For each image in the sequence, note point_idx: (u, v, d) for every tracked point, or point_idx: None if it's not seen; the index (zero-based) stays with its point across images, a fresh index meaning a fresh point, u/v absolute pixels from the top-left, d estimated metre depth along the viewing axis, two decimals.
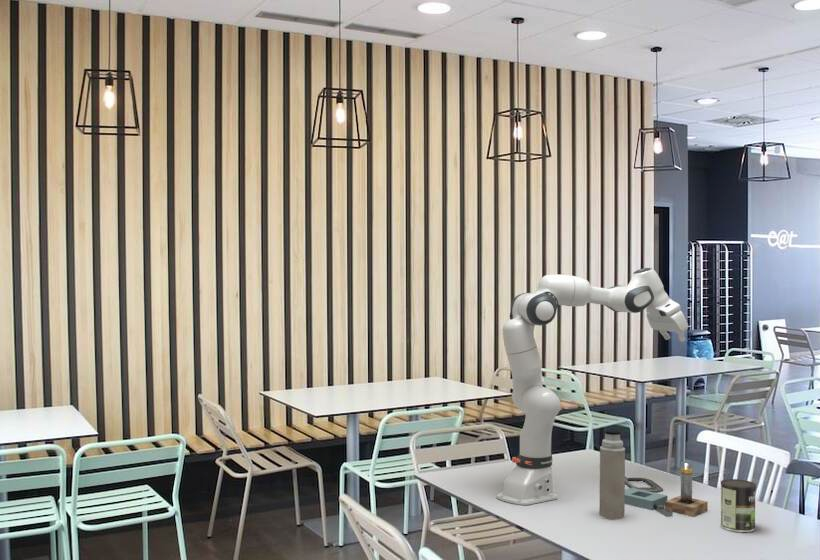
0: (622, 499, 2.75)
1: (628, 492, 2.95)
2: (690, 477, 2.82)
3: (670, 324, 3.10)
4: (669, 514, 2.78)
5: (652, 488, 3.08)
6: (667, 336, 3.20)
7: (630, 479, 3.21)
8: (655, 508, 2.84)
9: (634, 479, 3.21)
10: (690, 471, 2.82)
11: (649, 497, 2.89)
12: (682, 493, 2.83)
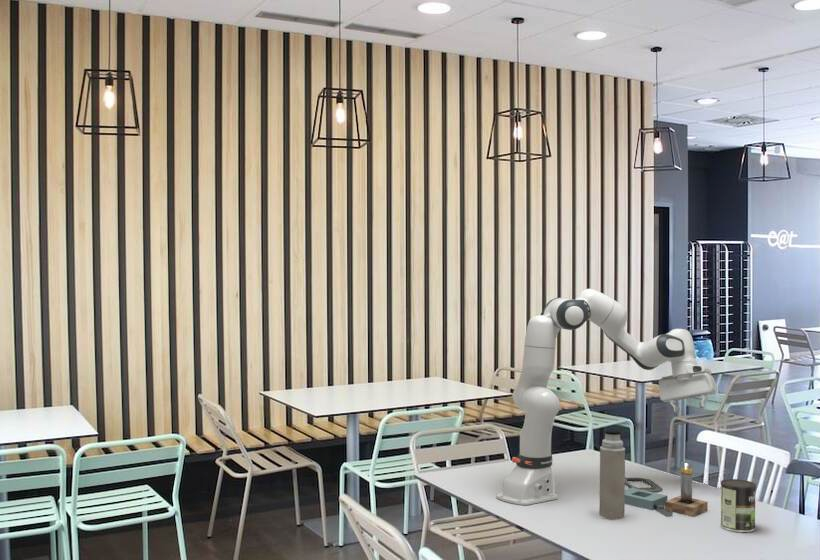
0: (622, 499, 2.75)
1: (628, 492, 2.95)
2: (690, 477, 2.82)
3: (698, 385, 3.03)
4: (669, 514, 2.78)
5: (652, 488, 3.09)
6: (678, 408, 3.06)
7: (629, 479, 3.21)
8: (655, 508, 2.84)
9: (633, 479, 3.21)
10: (690, 471, 2.82)
11: (649, 497, 2.89)
12: (682, 493, 2.83)
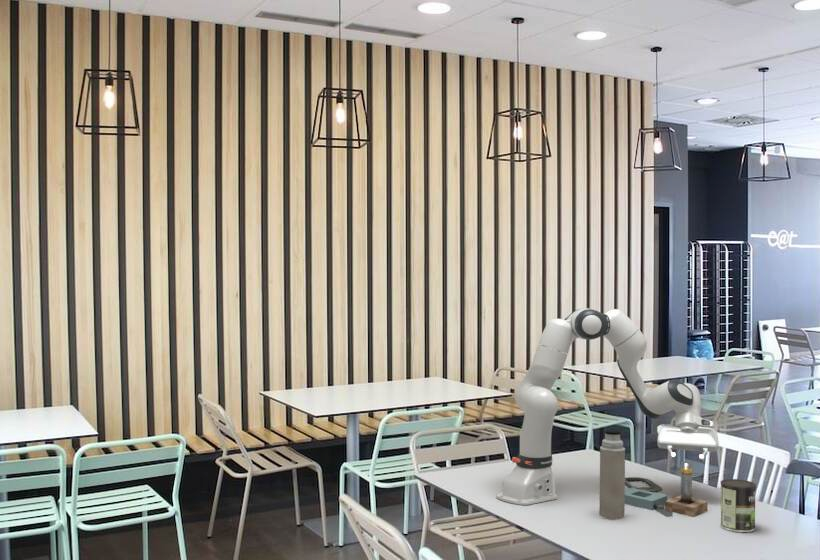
0: (622, 499, 2.75)
1: (628, 492, 2.95)
2: (690, 477, 2.82)
3: (703, 438, 2.93)
4: (669, 514, 2.78)
5: (651, 488, 3.09)
6: None
7: (629, 479, 3.21)
8: (655, 508, 2.84)
9: (633, 479, 3.21)
10: (690, 471, 2.82)
11: (649, 497, 2.89)
12: (682, 493, 2.83)
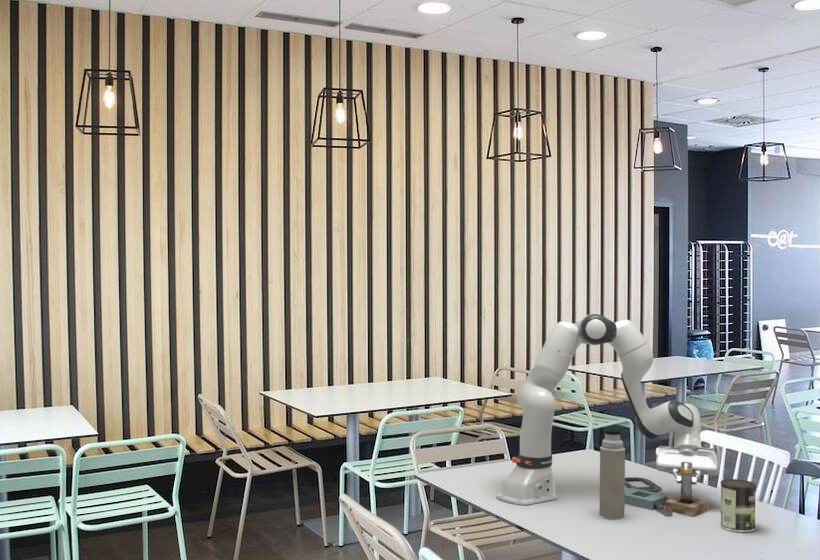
0: (622, 499, 2.75)
1: (628, 492, 2.95)
2: (690, 477, 2.82)
3: (702, 461, 2.86)
4: (669, 514, 2.78)
5: (651, 488, 3.09)
6: (680, 479, 2.85)
7: (628, 479, 3.21)
8: (655, 508, 2.84)
9: (632, 479, 3.21)
10: (690, 471, 2.82)
11: (649, 497, 2.89)
12: (682, 493, 2.83)
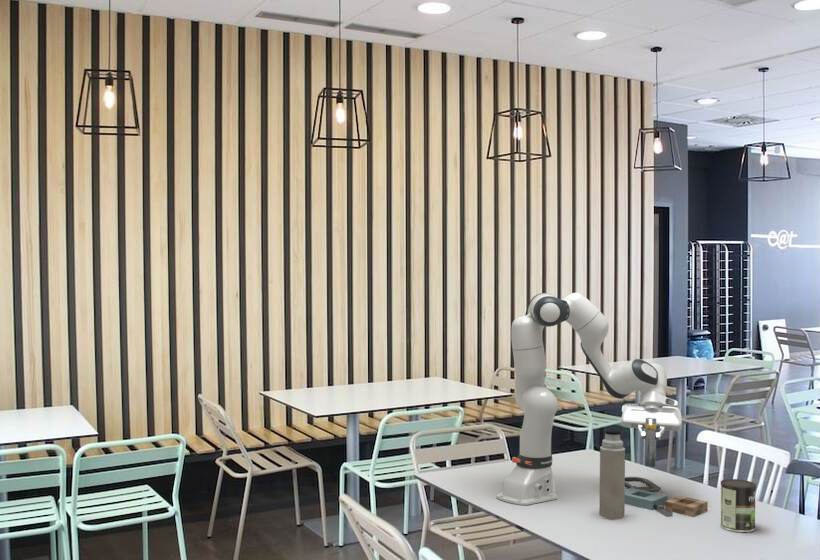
0: (622, 499, 2.75)
1: (628, 492, 2.95)
2: (654, 432, 2.88)
3: (667, 417, 2.92)
4: (669, 514, 2.78)
5: (650, 487, 3.09)
6: None
7: (626, 479, 3.21)
8: (655, 508, 2.84)
9: (630, 479, 3.21)
10: (654, 426, 2.88)
11: (649, 497, 2.89)
12: (646, 448, 2.89)
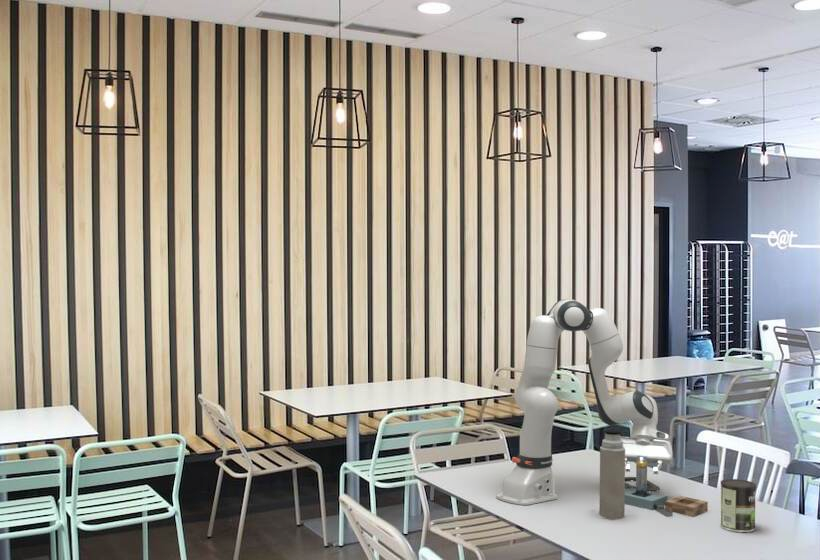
0: (622, 499, 2.75)
1: (628, 492, 2.95)
2: (645, 470, 2.91)
3: (657, 450, 2.94)
4: (669, 514, 2.78)
5: (649, 487, 3.10)
6: (629, 467, 2.94)
7: (625, 479, 3.21)
8: (655, 508, 2.84)
9: (628, 478, 3.22)
10: (645, 464, 2.91)
11: (649, 497, 2.89)
12: (637, 486, 2.92)
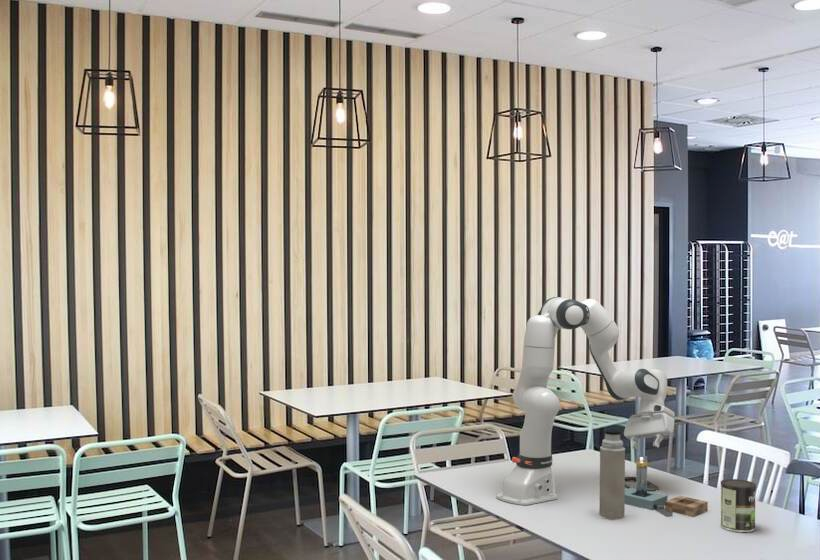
0: (622, 499, 2.75)
1: (628, 492, 2.95)
2: (645, 470, 2.91)
3: (656, 424, 3.04)
4: (669, 514, 2.78)
5: (648, 487, 3.10)
6: (636, 445, 3.09)
7: None
8: (655, 508, 2.84)
9: (627, 478, 3.22)
10: (645, 464, 2.91)
11: (649, 497, 2.89)
12: (637, 486, 2.92)
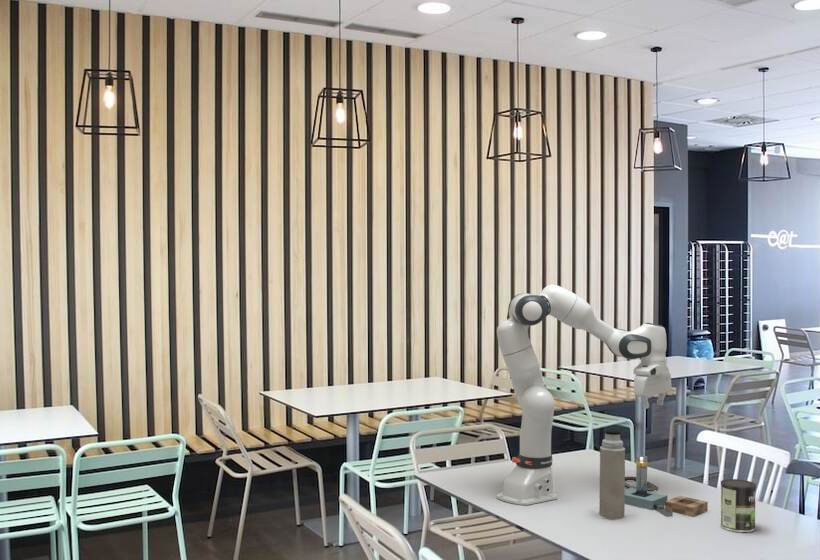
0: (622, 499, 2.75)
1: (628, 492, 2.95)
2: (645, 470, 2.91)
3: None
4: (669, 514, 2.78)
5: (648, 487, 3.10)
6: (658, 401, 3.08)
7: None
8: (655, 508, 2.84)
9: (626, 478, 3.22)
10: (645, 464, 2.91)
11: (649, 497, 2.89)
12: (637, 486, 2.92)
